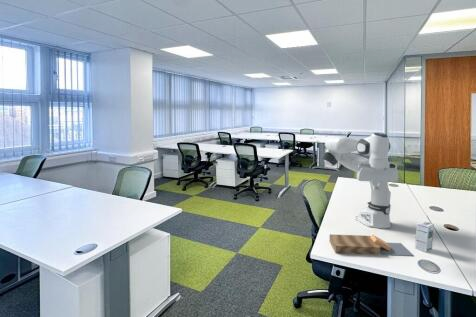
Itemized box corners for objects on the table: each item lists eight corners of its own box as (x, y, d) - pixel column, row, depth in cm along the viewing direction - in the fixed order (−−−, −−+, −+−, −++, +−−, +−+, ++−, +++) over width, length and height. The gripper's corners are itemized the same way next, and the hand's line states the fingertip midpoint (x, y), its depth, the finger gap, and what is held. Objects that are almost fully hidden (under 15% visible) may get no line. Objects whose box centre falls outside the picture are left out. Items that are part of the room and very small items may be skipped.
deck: (335, 253, 147) (335, 245, 146) (329, 241, 161) (329, 234, 160) (379, 254, 145) (380, 247, 144) (369, 242, 159) (370, 235, 158)
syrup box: (426, 252, 147) (429, 226, 145) (414, 248, 152) (416, 222, 150) (431, 250, 150) (434, 223, 148) (419, 245, 155) (422, 220, 153)
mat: (380, 254, 145) (380, 254, 145) (370, 242, 159) (370, 241, 159) (413, 256, 144) (413, 255, 143) (400, 243, 157) (400, 243, 157)
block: (374, 242, 148) (376, 239, 148) (370, 237, 154) (372, 234, 154) (389, 251, 148) (391, 247, 148) (384, 245, 154) (386, 242, 154)
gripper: (359, 164, 148) (358, 190, 150) (400, 165, 146) (398, 191, 149) (355, 162, 154) (354, 187, 157) (395, 163, 153) (393, 188, 155)
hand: (376, 189), depth 153 cm, fingers closed
